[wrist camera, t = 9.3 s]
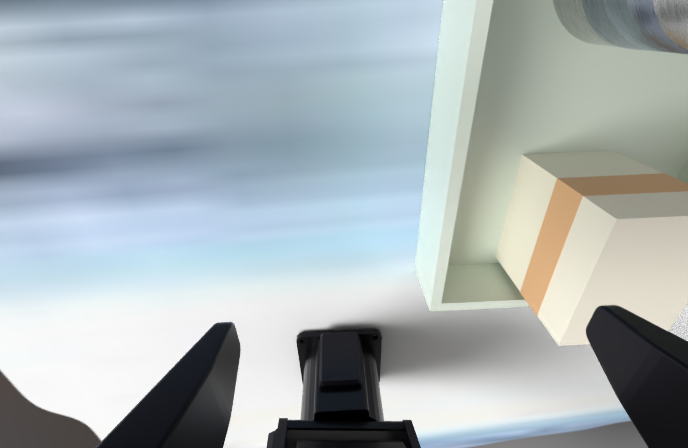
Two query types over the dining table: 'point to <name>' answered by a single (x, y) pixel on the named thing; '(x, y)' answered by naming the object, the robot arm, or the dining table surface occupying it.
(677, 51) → the tin can
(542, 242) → the taped carton
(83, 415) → the dining table surface
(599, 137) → the tote
